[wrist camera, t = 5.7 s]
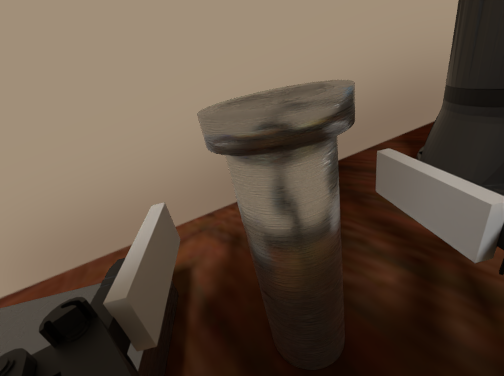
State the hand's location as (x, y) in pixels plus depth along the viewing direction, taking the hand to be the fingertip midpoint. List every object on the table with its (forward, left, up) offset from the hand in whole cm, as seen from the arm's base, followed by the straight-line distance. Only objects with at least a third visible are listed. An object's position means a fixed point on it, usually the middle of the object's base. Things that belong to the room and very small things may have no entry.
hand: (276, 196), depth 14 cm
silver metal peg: (0, +3, -8) cm, 9 cm away
